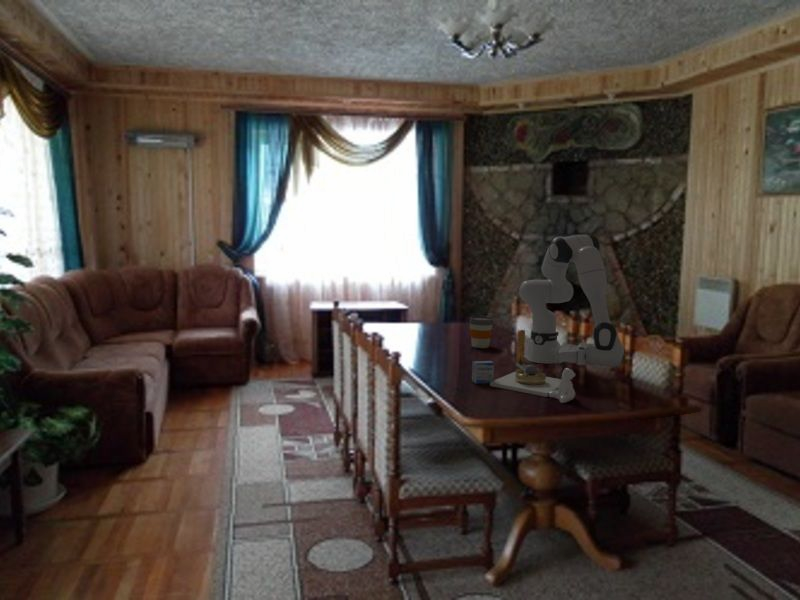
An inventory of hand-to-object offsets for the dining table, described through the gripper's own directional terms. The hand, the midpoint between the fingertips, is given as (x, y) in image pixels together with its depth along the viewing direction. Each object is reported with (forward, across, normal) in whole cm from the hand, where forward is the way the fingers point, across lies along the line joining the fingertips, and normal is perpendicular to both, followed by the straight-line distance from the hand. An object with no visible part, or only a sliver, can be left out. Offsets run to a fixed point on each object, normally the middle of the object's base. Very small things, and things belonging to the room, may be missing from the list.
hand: (548, 350), depth 257 cm
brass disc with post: (+8, +9, +11) cm, 16 cm away
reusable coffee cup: (+40, -56, +12) cm, 70 cm away
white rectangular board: (+6, +13, +12) cm, 19 cm away
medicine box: (+24, +17, +12) cm, 32 cm away
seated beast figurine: (-9, +28, +13) cm, 32 cm away
